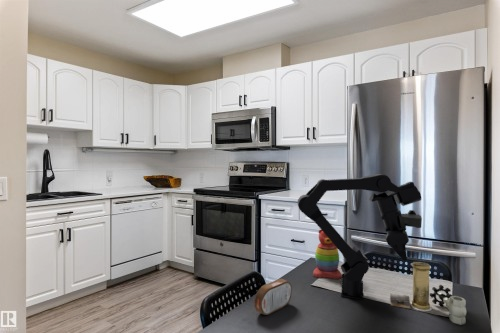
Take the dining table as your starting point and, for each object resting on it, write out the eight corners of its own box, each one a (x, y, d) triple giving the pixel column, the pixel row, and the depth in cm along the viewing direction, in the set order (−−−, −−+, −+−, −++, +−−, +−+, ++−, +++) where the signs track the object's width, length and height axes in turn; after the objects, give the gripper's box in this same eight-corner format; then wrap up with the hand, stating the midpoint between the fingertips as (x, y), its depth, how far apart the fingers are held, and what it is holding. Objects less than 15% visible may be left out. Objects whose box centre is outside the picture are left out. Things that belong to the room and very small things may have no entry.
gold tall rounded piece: (409, 305, 98) (409, 264, 98) (415, 301, 101) (416, 260, 101) (425, 311, 95) (426, 268, 94) (432, 306, 98) (432, 264, 97)
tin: (286, 300, 103) (286, 274, 102) (293, 303, 100) (293, 277, 100) (253, 316, 92) (253, 287, 92) (261, 320, 90) (261, 291, 90)
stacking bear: (313, 277, 123) (313, 231, 122) (313, 268, 132) (313, 226, 132) (341, 279, 120) (342, 233, 120) (340, 270, 130) (340, 227, 130)
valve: (474, 326, 87) (451, 306, 99) (474, 302, 87) (451, 285, 99) (448, 324, 88) (429, 305, 99) (448, 301, 87) (429, 284, 99)
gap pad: (411, 309, 96) (411, 308, 96) (408, 301, 102) (408, 300, 102) (433, 312, 94) (433, 312, 94) (430, 304, 100) (430, 303, 100)
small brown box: (390, 305, 99) (390, 296, 99) (389, 299, 103) (389, 290, 103) (410, 308, 97) (410, 299, 97) (408, 301, 101) (408, 293, 101)
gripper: (417, 211, 93) (435, 261, 93) (412, 198, 110) (427, 240, 110) (379, 219, 98) (395, 267, 97) (379, 206, 115) (394, 247, 115)
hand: (404, 254), depth 105 cm, fingers open, 9 cm apart
